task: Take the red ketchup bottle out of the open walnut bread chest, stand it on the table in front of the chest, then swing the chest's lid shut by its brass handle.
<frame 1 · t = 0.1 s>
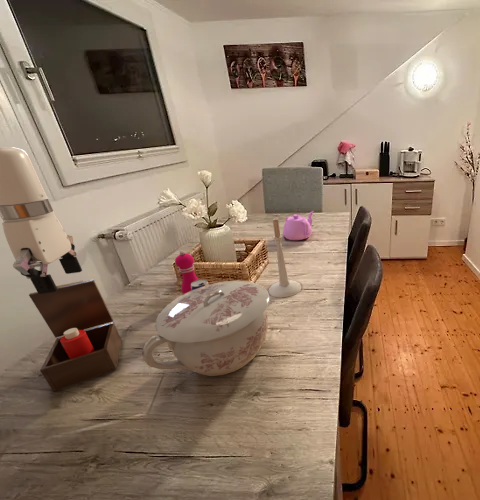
hand: (62, 281, 65), 28 cm above the table, tool pointing down, fingers open, 9 cm apart
lid: (76, 304, 78), point 16 cm above the table, hinge at 85.0°
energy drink: (207, 312, 100), on the table
candlestick: (285, 290, 113), on the table
pepper mill: (195, 298, 109), on the table
chest: (92, 365, 78), on the table
teapot: (301, 236, 170), on the table
chamber pot: (227, 355, 80), on the table
ketchup bottle: (89, 368, 76), point 1 cm above the table, touching chest
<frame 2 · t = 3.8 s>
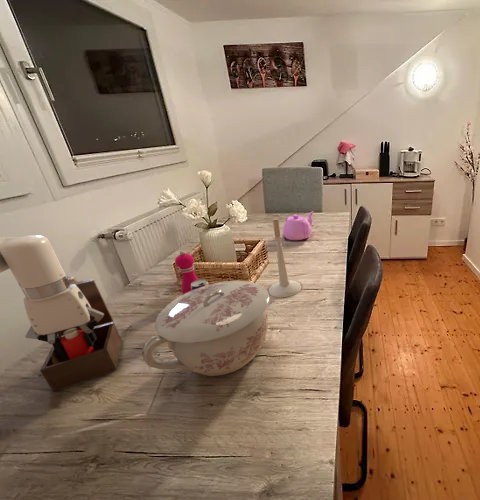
hand: (78, 347, 73), 8 cm above the table, tool pointing down, fingers closed on ketchup bottle, 4 cm apart
ketchup bottle: (89, 368, 76), point 1 cm above the table, touching chest, gripper
everything else where it was.
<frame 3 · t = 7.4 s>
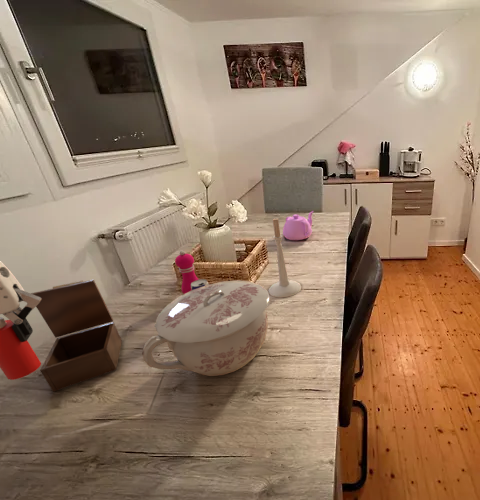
hand: (6, 342, 55), 22 cm above the table, tool pointing down, fingers closed on ketchup bottle, 4 cm apart
ketchup bottle: (24, 370, 58), point 14 cm above the table, touching gripper
everything else where it was.
when the fingers open (7 cm above the table, at t = 10.9 s): ketchup bottle stays where it is, on the table.
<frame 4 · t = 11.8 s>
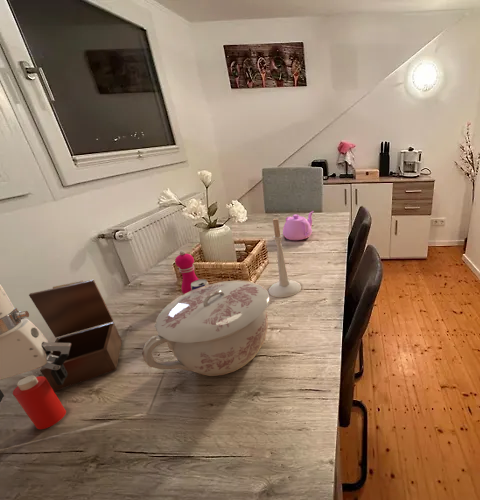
hand: (31, 390, 59), 9 cm above the table, tool pointing down, fingers open, 9 cm apart
ketchup bottle: (52, 421, 63), on the table
everything else where it was.
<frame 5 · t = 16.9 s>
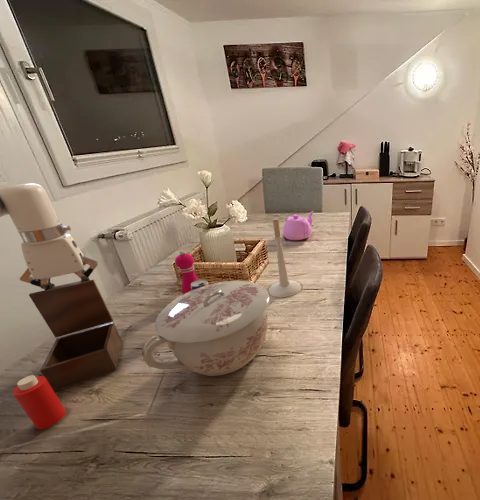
hand: (72, 294, 78), 18 cm above the table, tool pointing down, fingers closed on lid, 6 cm apart
lid: (76, 304, 78), point 16 cm above the table, hinge at 85.0°, touching gripper
everything else where it was.
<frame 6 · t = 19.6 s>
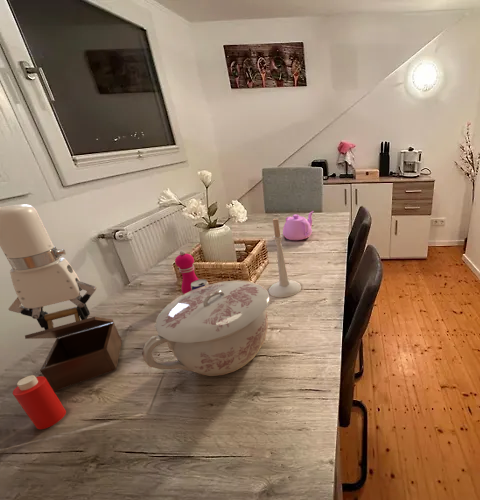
hand: (68, 322, 71), 15 cm above the table, tool pointing down, fingers closed on lid, 6 cm apart
lid: (73, 320, 74), point 14 cm above the table, hinge at 34.9°, touching gripper
everything else where it was.
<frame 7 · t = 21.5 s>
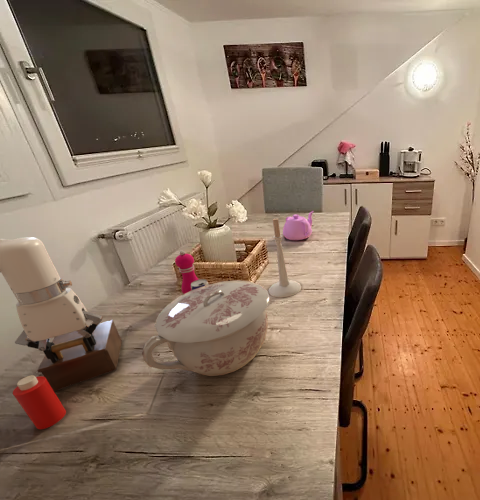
hand: (74, 352, 70), 9 cm above the table, tool pointing down, fingers closed on lid, 6 cm apart
lid: (76, 337, 74), point 10 cm above the table, hinge at -0.2°, touching chest, gripper
everything else where it was.
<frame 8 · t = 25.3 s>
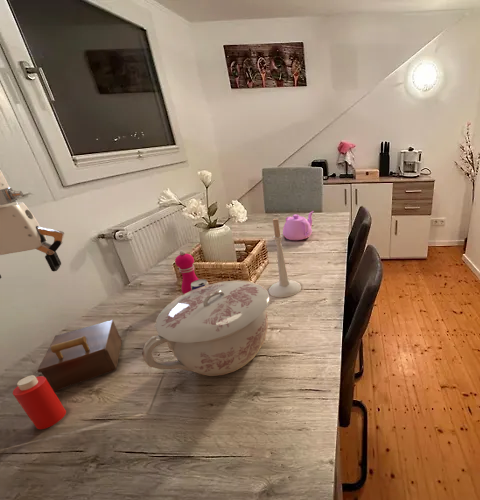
hand: (27, 274, 63), 30 cm above the table, tool pointing down, fingers open, 9 cm apart
lid: (76, 337, 74), point 10 cm above the table, hinge at -0.2°, touching chest
everything else where it was.
at the end: ketchup bottle inside the target area (0.0 cm from its centre), on the table; ketchup bottle tilted 0°; lid at +0° (first picture: +85°) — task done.
